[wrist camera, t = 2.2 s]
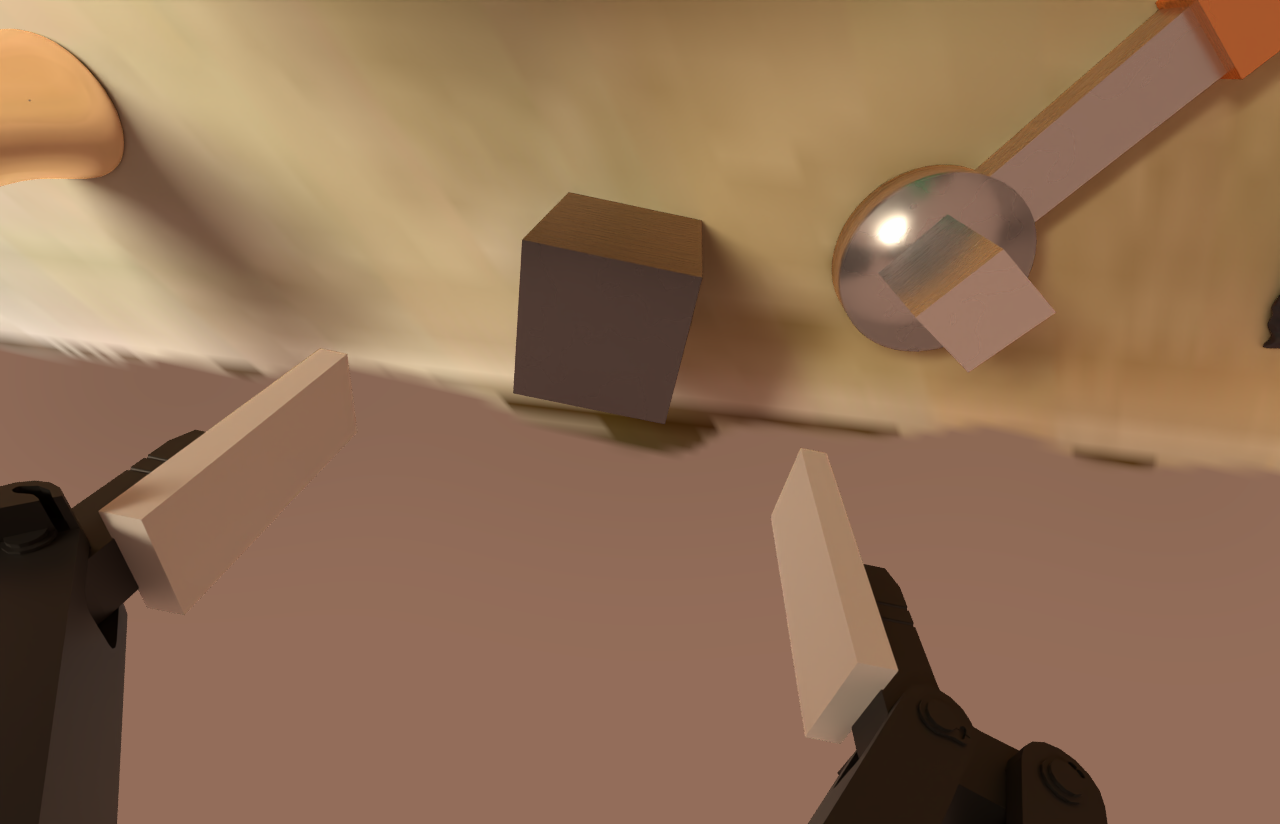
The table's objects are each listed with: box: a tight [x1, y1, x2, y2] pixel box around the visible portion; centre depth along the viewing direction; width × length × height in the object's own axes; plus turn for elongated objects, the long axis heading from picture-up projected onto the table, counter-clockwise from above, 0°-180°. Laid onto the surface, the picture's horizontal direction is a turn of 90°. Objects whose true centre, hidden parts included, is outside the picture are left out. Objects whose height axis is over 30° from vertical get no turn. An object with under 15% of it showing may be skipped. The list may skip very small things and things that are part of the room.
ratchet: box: [832, 0, 1280, 372], centre depth 19 cm, size 24×8×7 cm, turn 140°
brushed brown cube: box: [513, 192, 702, 424], centre depth 24 cm, size 6×6×8 cm
